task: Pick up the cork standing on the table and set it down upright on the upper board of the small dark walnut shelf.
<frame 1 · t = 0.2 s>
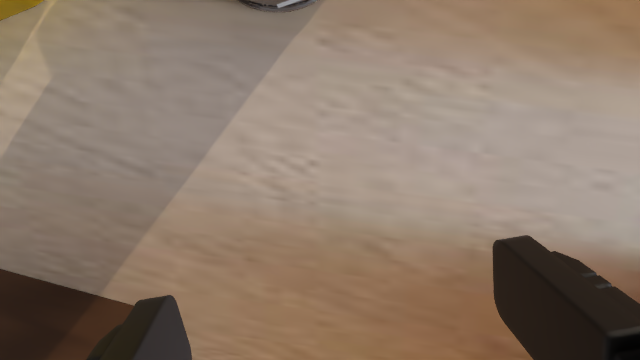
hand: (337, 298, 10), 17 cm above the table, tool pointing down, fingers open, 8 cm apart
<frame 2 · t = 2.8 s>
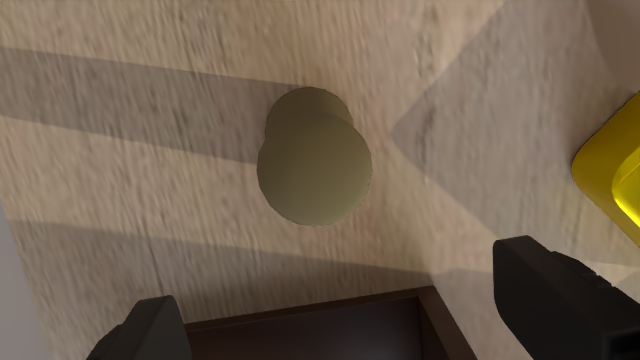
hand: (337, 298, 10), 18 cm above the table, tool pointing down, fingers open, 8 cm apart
cork: (309, 132, 27), on the table
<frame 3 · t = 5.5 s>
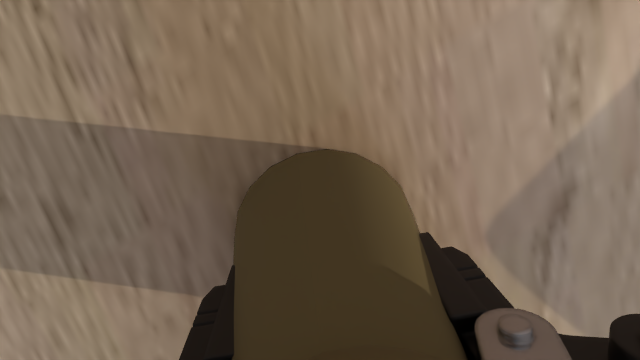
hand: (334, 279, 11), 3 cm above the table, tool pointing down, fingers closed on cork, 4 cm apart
cork: (324, 234, 13), on the table, touching gripper
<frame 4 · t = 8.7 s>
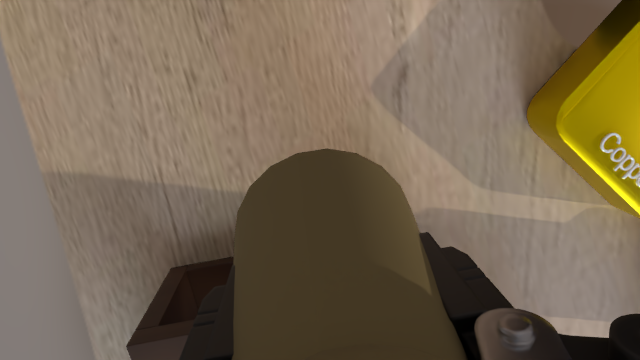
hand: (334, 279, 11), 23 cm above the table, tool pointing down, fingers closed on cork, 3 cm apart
element tile: (634, 100, 34), on the table
shelf: (306, 311, 37), on the table
cork: (324, 233, 14), point 20 cm above the table, touching gripper
when the fingers open (13 cm above the table, at t = 12.3 s): cork stays where it is, resting on shelf.
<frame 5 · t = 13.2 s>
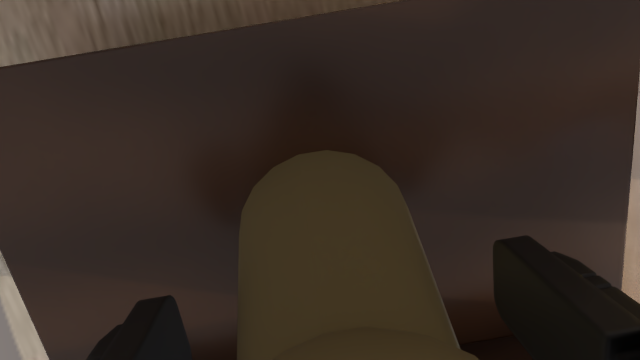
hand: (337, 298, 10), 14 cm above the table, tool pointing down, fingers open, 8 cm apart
shelf: (313, 160, 23), on the table
cork: (325, 231, 14), point 10 cm above the table, touching shelf
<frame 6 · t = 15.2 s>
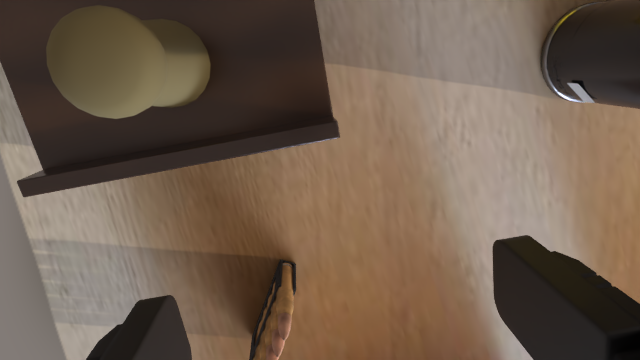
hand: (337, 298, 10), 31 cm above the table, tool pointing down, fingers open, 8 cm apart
shelf: (198, 63, 38), on the table
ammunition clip: (273, 300, 45), on the table
cork: (168, 64, 28), point 10 cm above the table, touching shelf
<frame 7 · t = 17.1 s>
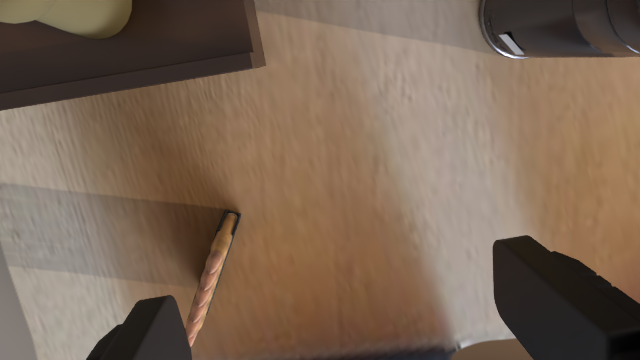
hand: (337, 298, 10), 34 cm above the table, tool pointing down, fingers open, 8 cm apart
shelf: (140, 10, 39), on the table
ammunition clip: (220, 250, 47), on the table
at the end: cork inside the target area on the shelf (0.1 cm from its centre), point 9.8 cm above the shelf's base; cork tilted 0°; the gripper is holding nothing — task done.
